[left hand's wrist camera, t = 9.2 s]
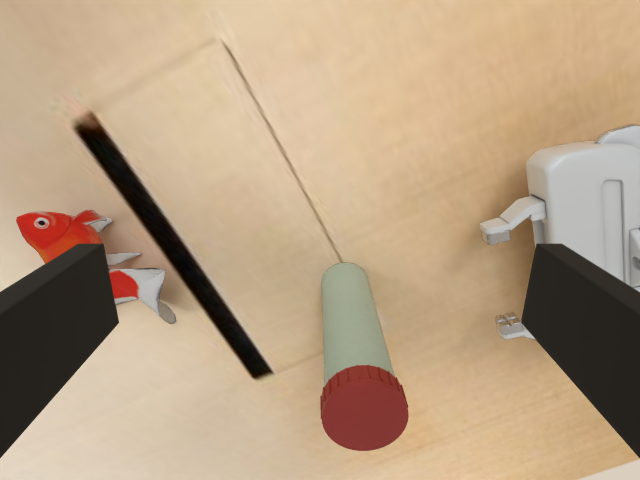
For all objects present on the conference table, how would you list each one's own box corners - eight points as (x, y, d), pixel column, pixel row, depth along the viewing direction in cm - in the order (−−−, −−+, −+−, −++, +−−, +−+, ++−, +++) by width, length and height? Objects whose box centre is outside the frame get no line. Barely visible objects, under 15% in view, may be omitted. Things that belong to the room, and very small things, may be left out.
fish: (119, 159, 33) (48, 257, 27) (220, 270, 44) (187, 359, 37) (32, 182, 37) (-47, 271, 31) (145, 278, 48) (103, 359, 41)
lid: (376, 441, 28) (379, 462, 26) (305, 412, 27) (305, 432, 25) (419, 384, 26) (426, 403, 24) (346, 350, 25) (348, 368, 24)
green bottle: (353, 311, 43) (377, 452, 26) (313, 292, 42) (311, 425, 26) (376, 275, 42) (418, 399, 25) (336, 254, 41) (350, 369, 24)
